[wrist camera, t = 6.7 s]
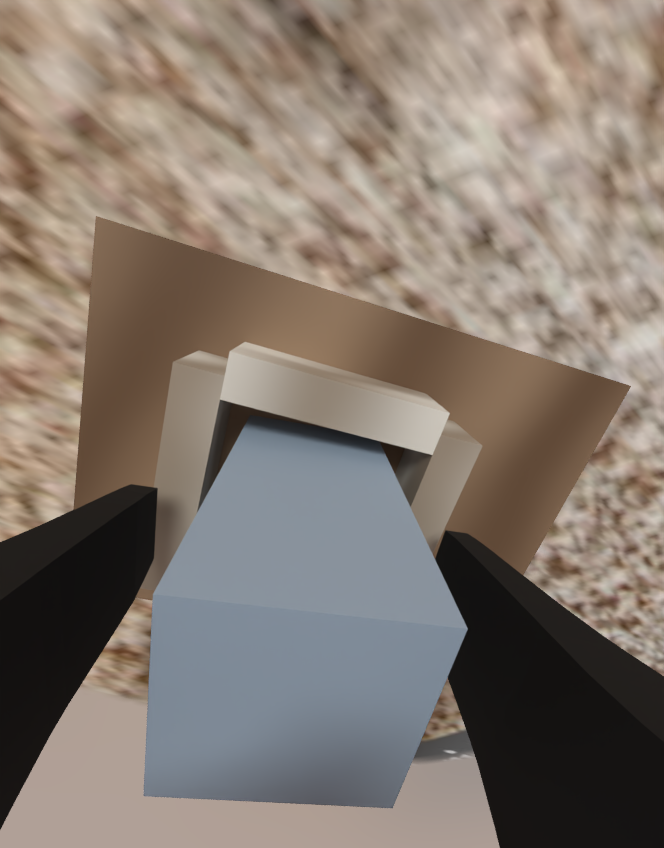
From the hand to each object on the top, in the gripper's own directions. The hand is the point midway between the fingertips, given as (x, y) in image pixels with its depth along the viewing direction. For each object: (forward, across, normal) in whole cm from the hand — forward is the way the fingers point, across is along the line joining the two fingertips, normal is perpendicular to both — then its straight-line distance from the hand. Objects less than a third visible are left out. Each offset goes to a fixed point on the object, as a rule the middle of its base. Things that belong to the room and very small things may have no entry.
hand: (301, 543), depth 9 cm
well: (+4, 0, 0) cm, 4 cm away
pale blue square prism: (+3, 0, 0) cm, 3 cm away
